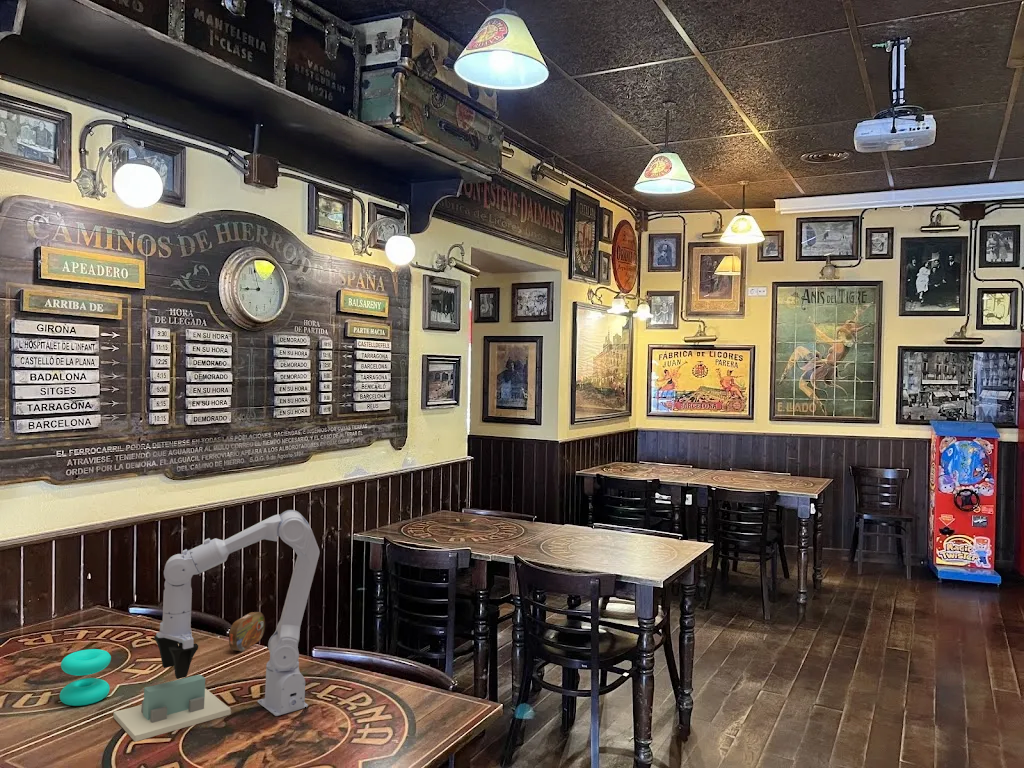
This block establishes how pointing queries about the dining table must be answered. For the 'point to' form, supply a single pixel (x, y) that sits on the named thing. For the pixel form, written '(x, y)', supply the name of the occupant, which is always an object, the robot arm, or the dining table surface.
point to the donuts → (89, 687)
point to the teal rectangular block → (173, 695)
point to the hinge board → (170, 717)
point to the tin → (246, 631)
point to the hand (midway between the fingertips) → (174, 672)
